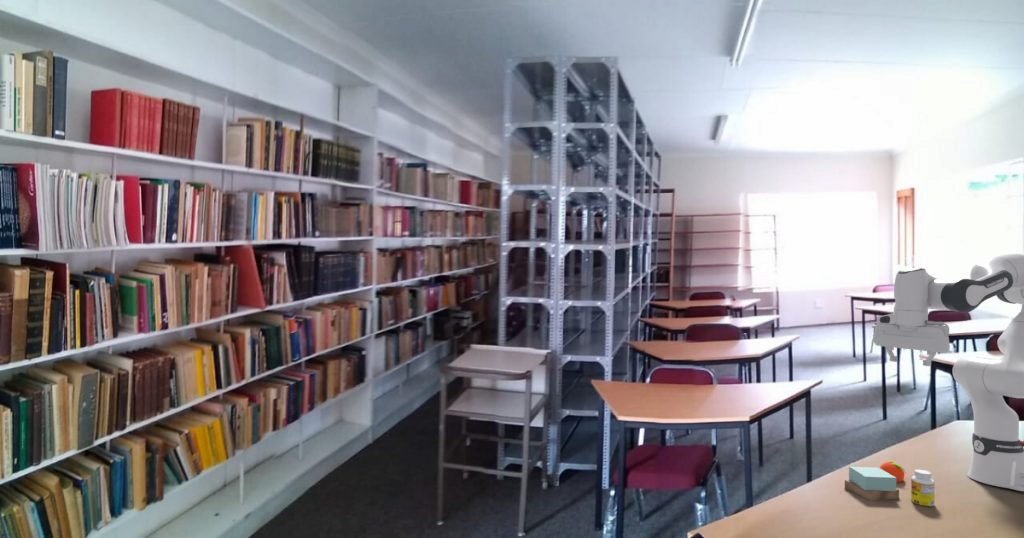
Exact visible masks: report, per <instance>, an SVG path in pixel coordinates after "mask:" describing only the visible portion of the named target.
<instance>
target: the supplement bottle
mask: <svg viewBox="0 0 1024 538" xmlns="http://www.w3.org/2000/svg"><path fill="white" fill-rule="evenodd" d="M910 480H911V485H910V486H911V488H910V494H911V495H910V500H911V503H912V504H914V505H916V506H919V507H924V508H933V507H935V489H936V488H935V485H936V484H935V480H934V479H932V473H931V471H929V470H923V469H914V475H913V476H911V478H910Z"/></svg>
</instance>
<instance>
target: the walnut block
mask: <svg viewBox="0 0 1024 538" xmlns="http://www.w3.org/2000/svg"><path fill="white" fill-rule="evenodd" d="M844 489H845V490H848V491H850V492H852V493H854V494H856V495H858V496H861V497H862V498H865V499H867V500H868V501H872V502H873V501H886V500H894V499H900V489H898V488H896V491H879V490H864V489H863V488H861V487H860V486H858V485H857V484H855V483H854V482H852V481H851V480H849V479H845V480H844Z"/></svg>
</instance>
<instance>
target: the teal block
mask: <svg viewBox="0 0 1024 538" xmlns="http://www.w3.org/2000/svg"><path fill="white" fill-rule="evenodd" d="M848 469H849V471H848V473H849V474H848V480H851V481H852V482H854V483H855V484H857V485H858V486H860V487H861V488H863V489H864V490H879V491H896V489H897V482H896V477H894V476H892V475H891V474H889V473H887V472H885V471H884V470H882V469H880V467H874V466H873V467H870V466H849V467H848Z"/></svg>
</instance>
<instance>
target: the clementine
mask: <svg viewBox="0 0 1024 538" xmlns="http://www.w3.org/2000/svg"><path fill="white" fill-rule="evenodd" d="M879 468H880V469H882V470H884V471H885V472H887V473H889V474H891V475H892V476H894V477H896V483H901V481H902V482H903V481H904V479H905V474H907V473H906V470H905V469H904V468H903V467H902V466H901V465H900V464H899V463H896V462H893V461H886V462H884V463H882V464H881V465H880V467H879Z"/></svg>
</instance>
